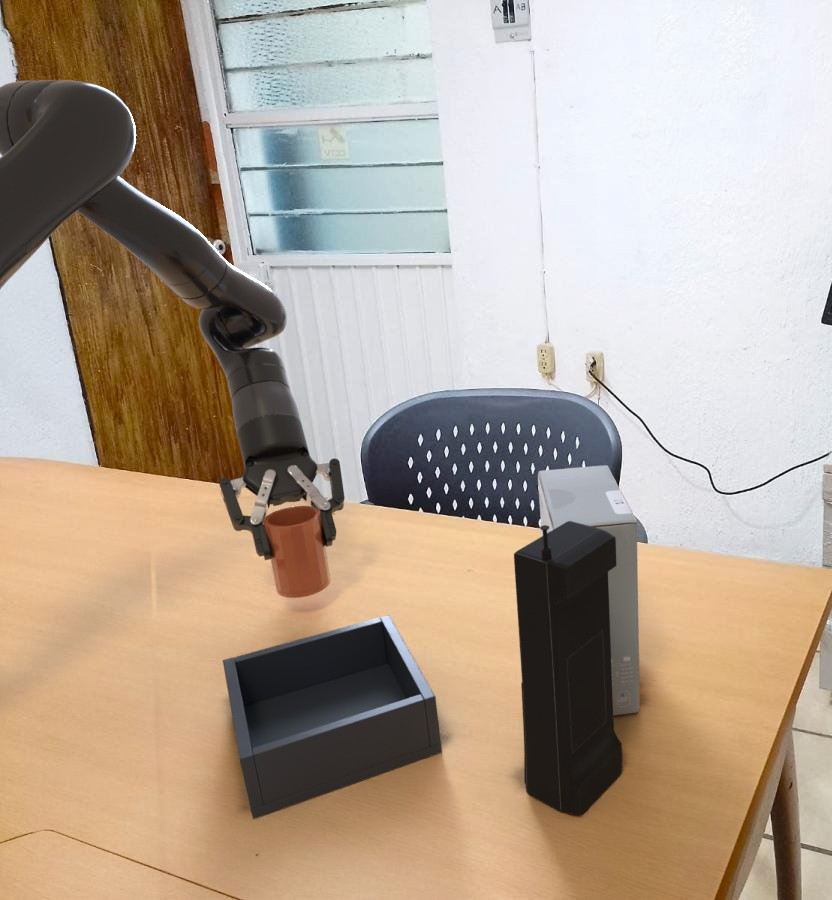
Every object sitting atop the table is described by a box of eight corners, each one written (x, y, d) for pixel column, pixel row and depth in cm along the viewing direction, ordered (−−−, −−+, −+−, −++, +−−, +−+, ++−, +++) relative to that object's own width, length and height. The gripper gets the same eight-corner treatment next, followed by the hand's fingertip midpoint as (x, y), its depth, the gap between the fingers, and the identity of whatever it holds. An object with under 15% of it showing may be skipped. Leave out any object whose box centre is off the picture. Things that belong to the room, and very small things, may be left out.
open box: (252, 819, 67) (239, 759, 65) (234, 712, 81) (222, 659, 79) (442, 752, 74) (435, 696, 72) (396, 664, 88) (389, 614, 86)
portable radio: (575, 739, 75) (562, 484, 67) (631, 764, 72) (623, 499, 64) (519, 791, 69) (496, 518, 61) (577, 821, 66) (561, 537, 58)
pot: (280, 603, 95) (267, 532, 92) (272, 580, 101) (260, 513, 98) (335, 589, 98) (324, 519, 95) (325, 568, 103) (314, 502, 100)
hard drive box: (642, 715, 78) (638, 522, 72) (562, 725, 77) (550, 531, 71) (613, 628, 93) (607, 462, 86) (545, 636, 92) (534, 468, 85)
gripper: (202, 422, 96) (230, 553, 90) (330, 402, 102) (364, 524, 96) (208, 452, 102) (234, 577, 96) (328, 432, 108) (359, 548, 102)
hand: (299, 550), depth 96 cm, fingers closed on pot, 6 cm apart
